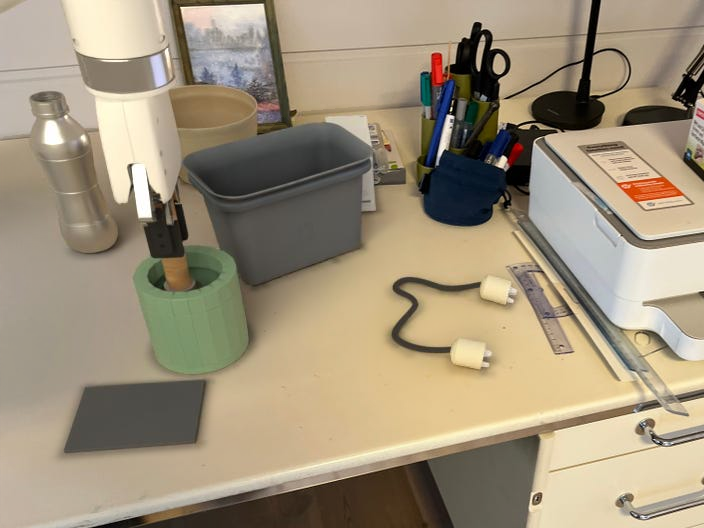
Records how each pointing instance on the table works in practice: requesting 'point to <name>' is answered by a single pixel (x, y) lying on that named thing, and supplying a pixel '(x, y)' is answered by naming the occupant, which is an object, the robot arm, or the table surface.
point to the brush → (177, 269)
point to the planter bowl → (211, 117)
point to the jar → (194, 313)
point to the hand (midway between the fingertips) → (170, 246)
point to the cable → (462, 349)
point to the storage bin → (283, 197)
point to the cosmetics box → (361, 130)
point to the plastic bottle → (71, 174)
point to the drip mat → (136, 416)
